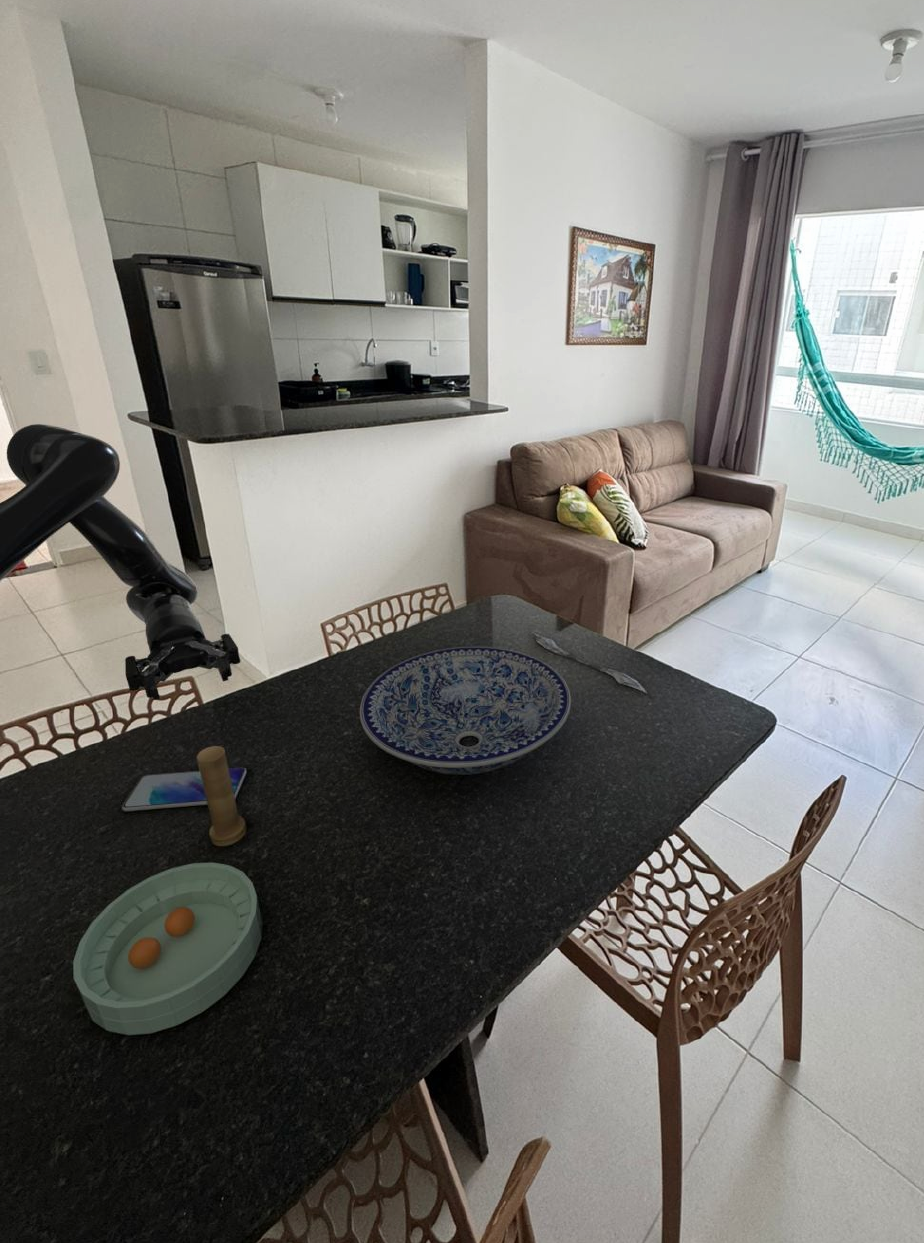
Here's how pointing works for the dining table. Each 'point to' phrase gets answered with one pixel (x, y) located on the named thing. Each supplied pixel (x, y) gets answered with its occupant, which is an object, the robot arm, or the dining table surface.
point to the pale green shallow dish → (169, 949)
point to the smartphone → (174, 790)
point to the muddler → (220, 797)
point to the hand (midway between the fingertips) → (191, 684)
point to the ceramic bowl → (465, 708)
